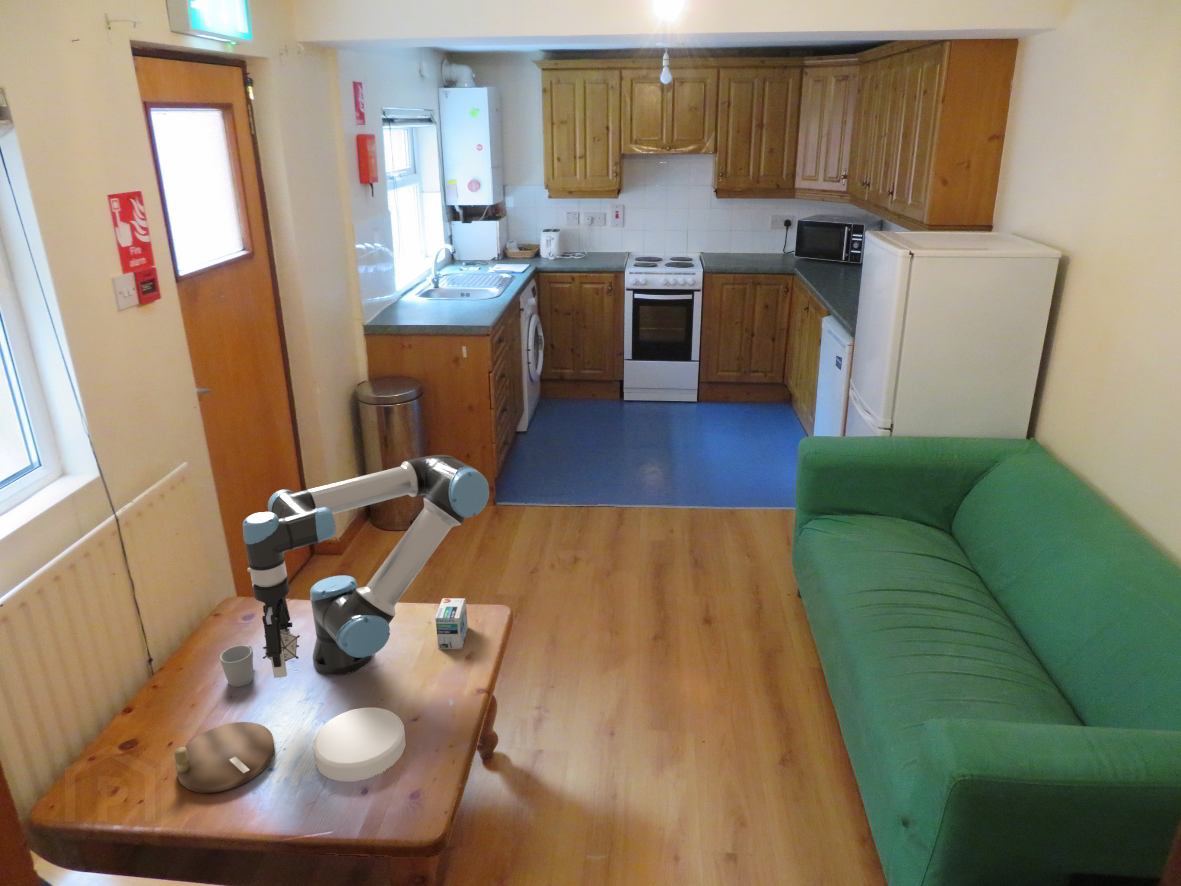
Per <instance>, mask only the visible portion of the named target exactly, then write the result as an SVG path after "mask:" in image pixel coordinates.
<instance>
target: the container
mask: <svg viewBox="0 0 1181 886" xmlns="http://www.w3.org/2000/svg"><path fill="white" fill-rule="evenodd" d="M312 744H313V746H312V751H313V752H312V753H313V759H314V763H315V765H316V767H317V770H318V772H320V773H321V774H322V775H323V776H325V777H326V778H328V779H331V780H334V781H337V782H351V783H352V782H358V781H363V780H368V778H369V779H371V778H373V777H375V775H376V776H378V775H381V774H382V773H384V772H386V771H387V770H388V769H389V767H390V766H391V767H392V766H394V765H395V764H396V762H398V760H400V758H401V757H402V756H403V753H404V750H405V747H406V734H405V724H404V723H403V721H402V720H401V718H400V716H398V715H397V714H396V713H393V712H392V711H391V710H387V709H385V708H380V707H360V708H356V709H355V708H353V709H350V710H348V711H345V712H342V713H340V714H338V715H336V716H335V717H333V718H331V719H329V720H328V721H327V722H326V723H325V724H324V725H323V726H322V727H321V728H320V729H319V730H318V732H317V734H316V735H315V738H314V739H313V743H312ZM391 767H390V768H391ZM387 768H388V769H387ZM386 769H387V770H386ZM383 771H384V772H383ZM377 774H378V775H377ZM372 776H373V777H372ZM370 777H371V778H370Z"/></svg>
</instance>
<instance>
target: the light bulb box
mask: <svg viewBox="0 0 1181 886" xmlns="http://www.w3.org/2000/svg"><path fill="white" fill-rule="evenodd" d="M434 618H435V628H436V638H437V649H438V650H462V649H463V648H462V647H464V645H463V644H464V643H465V641H466V637H465V636H467V633H466V632H468V629H467V628H468V627H469V624H468V612H467V600H466V598H461V597H460V598H458V597H457V598H456V597H455V598H448V597H447V598H446V597H445V598H442V599H441V601H440V604H439V607H438V610H437V611H436V615H435V617H434ZM464 640H465V641H464Z"/></svg>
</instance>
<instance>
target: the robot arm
mask: <svg viewBox="0 0 1181 886" xmlns="http://www.w3.org/2000/svg"><path fill="white" fill-rule="evenodd" d="M406 495H408V496H410V497H411V498H415V497H418V496H424V497H423V508H422V510H421V511H420V513H419V514H418V515H417V516H416V518H415V520H414V521H413V522H412V524H411V525H410V526H409V528H408V529H407V530H406V531H405V533H404V535H402V537H401V538H400V540H399V541H398V543H397V544H396V545H395V546H394V547H393V549H392V550H391V552H390V553H389V554H388V556H387V557H386V558H385V560H384V561H383V563H382V564H381V565H380V566H379V568H378V569H377V570H376V572H375V573H374V574H373V576H372V577H371V579H370V580H369V581H368V583H367V584H366V586H365V585H364V586H362V587H358V586H359V585H358V583H357V579H355V577H353V576H350V575H334V576H329V577H326V578H323V579H321V580H319V581H317V582H315V584H313V585H312V586H311V588H310V590H309V593H310V597H309V600H310V604H311V609H312V616H313V622H314V629H315V635H316V640H315V642H314V649H313V652H312V662H313V667H314V670H316V671H317V672H319V673H320V674H322V675H328V676H341V675H342V676H343V675H348V674H351V673H355V672H357V671H358V670H360V669H362V668H363V667H365V666H367V664H368V663H370V661H371V660H372V657H373V655H375V654H377V653H379V652H380V651H381V650H382V649H383V648H384V647H385V646H386V644H387V643H388V641H389V638H390V635H391V632H390V631H391V629H390V628H391V627H390V623H391V622H392V621H393V619H394V617H395V616H396V608H395V607H396V605H397V603H398V602H399V600H400V599H401V598H402V597H403V595H404V593H405V592H406V591H407V590H408V588H409V587H410V585H411V584H412V583H413V582H414V580H415V579H416V577H417V576H418V574H419V573H420V572H421V570H422V569H423V568H424V566H425V564H426V563H427V562H428V561H429V560H430V557H432V556H433V554H434V553H435V552H436V550H437V548H439V545H440V544H441V542H443V540H444V539H445V537H446V536H447V534H448V533H449V532H450V530H451V529H452V528H453V527H457V526H461V525H462V524H463V523H464V521H465V520H466V518H472V517H474V516H477V515H479V514H480V513H481V512H482V511H483V510H484V509H485V508H486V506H487V503H488V501H489V497H490V486H489V482H488V480H487V479H486V477H485V475H483V474H482V473H481V472H479V471H478V469H476V468H474V467H473V466H470V465H469V464H466V463H465V462H463V461H461V460H459V458H456V457H454V456H451V455H447V454H435V455H434V454H433V455H428V456H422V457H418V458H413V459H409V460H406V461H405V460H404V461H403V462H402V463H401V464H400V466H397V467H392V468H389V469H386V470H382V471H377V472H373V473H369V474H365V475H361V476H358V477H354V478H349V479H345V480H341V481H337V482H334V483H330V484H325V485H321V486H316V487H313V488H309V489H305V490H300V491H296V492H294V491H292V490H290V489H280V490H277V491H275V492H274V493H273V494H272V495H271V496H270V497H269V499H268V501H267V509H268V511H264V512H261V511H259V512H255V513H252V514H251V515H249V516H246V517H245V519H244V520H243V522H242V532H243V533H242V534H243V539H242V540H243V542H244V546H245V550H246V556H247V562H248V567H247V570H246V571H247V573H250V577H251V578H250V579H251V584H252V586H251V587H252V591H253V592H252V593H253V596H254V597H253V598H254V599H255V600H256V601H257V602H261V603H264V605H263V606H262V611H263V614H264V615H262V618H261V620H262V623H263V628H264V635H265V636H264V638H265V647H267V653H266V652H265V656H267V657H271V660H270V661H271V668H272V672H273V673H272V674H273V678H274V679H276V678H284V677H287V676H288V673H287V666H286V665H287V664H285V663H286V661H285V659H284V653H283V650H281V633H280V632H281V631H285V630H286V628H287V629H288V631H287V632H289V633H290V634H291V631H290V628H293V622H290V621H291V617H290V616H291V615H290V612H289V608H288V603H287V599H286V596H288V594H289V592H290V586H289V580H288V577H287V576H288V572H287V566H286V559H285V555H284V554H285V552H289V551H293V550H296V549H299V548H303V547H306V546H310V545H313V544H317V543H318V544H319V543H322V542H323V541H326V540H329V539H331V538H333V537H334V536H335V535H336V530H337V528H336V521H335V517H334V515H335V514H339V513H342V512H347V511H351V510H354V509H358V508H361V507H365V506H366V507H367V506H369V505H373V504H377V503H380V502H385V501H387V500H391V499H396V498H400V497H404V496H406ZM267 657H266V658H267Z"/></svg>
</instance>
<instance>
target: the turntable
mask: <svg viewBox="0 0 1181 886" xmlns="http://www.w3.org/2000/svg"><path fill="white" fill-rule="evenodd" d="M275 749H276V748H275V741H274V736H273V734H272V732H271V731H270V730H269V728H267V727H266V726H265V725H262V724H260V723H258V722H257V723H256V722H251V721H239V722H231V723H226V724H222V725H219V726H217V727H214V728H211V729H209V730H207V731H204V732H202V733H201V734H199V735H198V736H196V737H194V738H193V739H192V740H191V741H189V742H188V743H187V744H186V745H185V746H181V747H178V748H175V750H174V751H173V754H174V759H175V771H176V775H177V779H178V781H179V783H180V785H182V787H184V788H186V789H188V790H190V791H192V792H197V793H204V794H207V793H208V794H209V793H219V792H224V791H227V790H230V789H234V788H237V787H239V786H241V785H243V784H245V783H247V782H249V781H251V780H253V778H255V777H257V776H258V775H259V774H261V773H262V772H263V770H264V769H266V768H267V766H268V765H270V764H269V763H270V762H271V761H272V759H273V757H274V754H275Z"/></svg>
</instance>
